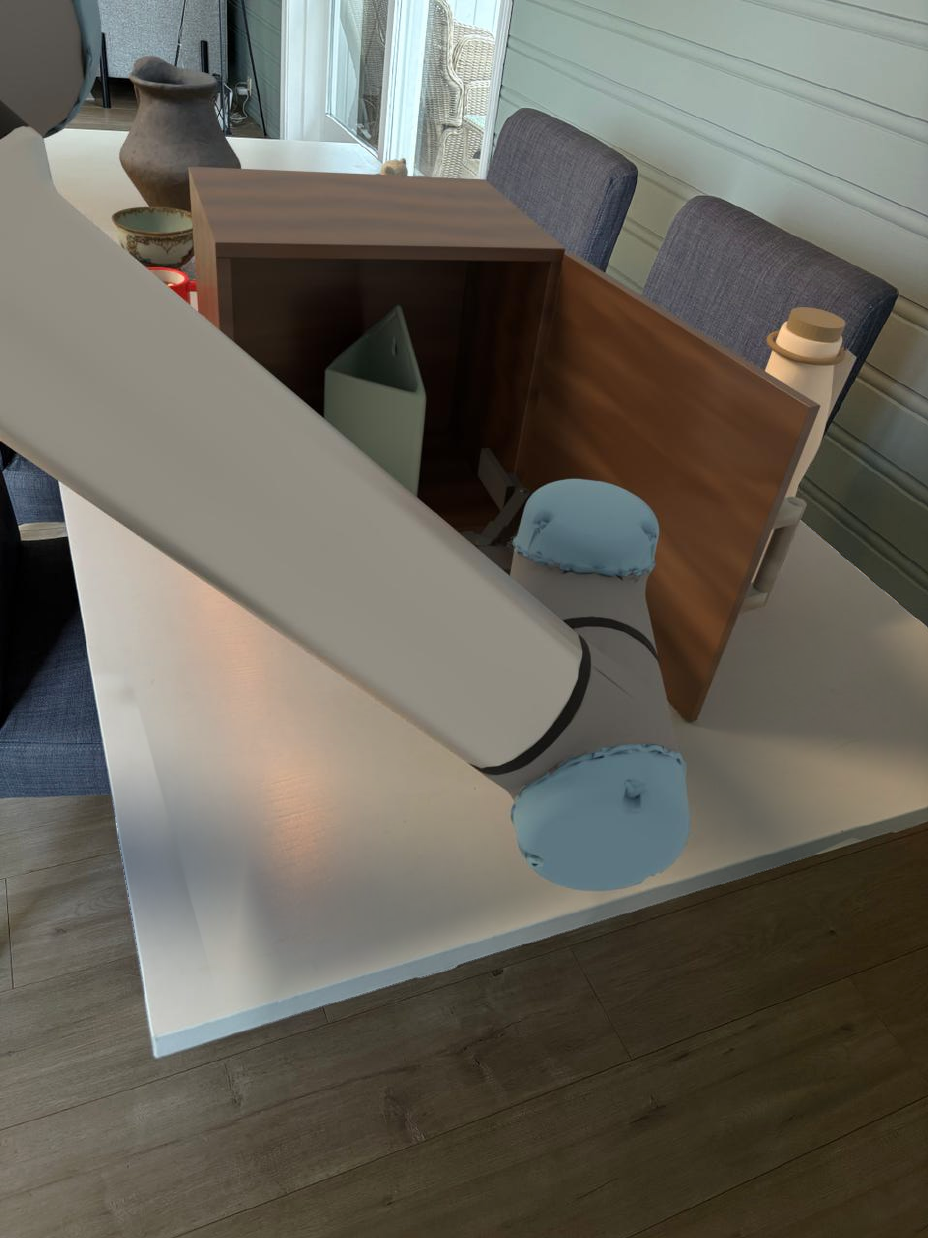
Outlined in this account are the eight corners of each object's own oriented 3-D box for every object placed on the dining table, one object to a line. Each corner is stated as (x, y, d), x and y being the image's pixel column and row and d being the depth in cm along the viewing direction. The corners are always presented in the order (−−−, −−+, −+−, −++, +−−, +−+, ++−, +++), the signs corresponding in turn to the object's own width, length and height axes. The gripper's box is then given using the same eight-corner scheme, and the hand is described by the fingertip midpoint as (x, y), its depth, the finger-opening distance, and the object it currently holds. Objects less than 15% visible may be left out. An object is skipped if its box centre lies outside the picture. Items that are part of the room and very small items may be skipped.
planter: (300, 448, 106) (300, 278, 94) (363, 440, 110) (372, 275, 97) (347, 523, 96) (355, 342, 83) (416, 513, 99) (434, 336, 86)
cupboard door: (564, 524, 102) (625, 250, 83) (746, 702, 83) (879, 395, 64) (512, 535, 99) (564, 253, 81) (688, 722, 80) (810, 407, 61)
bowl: (215, 281, 147) (213, 230, 142) (130, 287, 141) (124, 234, 136) (190, 253, 156) (187, 203, 151) (108, 257, 150) (102, 206, 145)
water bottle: (724, 532, 105) (810, 291, 88) (789, 572, 100) (894, 325, 83) (667, 558, 100) (747, 306, 82) (733, 602, 95) (833, 343, 77)
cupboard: (514, 532, 100) (565, 248, 81) (231, 556, 91) (214, 242, 72) (453, 435, 116) (485, 178, 97) (207, 447, 106) (188, 166, 87)
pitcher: (168, 245, 157) (154, 80, 142) (100, 209, 168) (80, 52, 152) (264, 229, 170) (261, 76, 154) (196, 197, 180) (187, 50, 165)
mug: (222, 345, 129) (220, 289, 124) (133, 342, 126) (126, 285, 121) (222, 323, 134) (219, 269, 130) (136, 320, 132) (130, 265, 127)
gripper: (318, 678, 63) (268, 512, 79) (634, 635, 71) (533, 492, 86) (320, 593, 59) (267, 434, 74) (658, 557, 67) (547, 420, 82)
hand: (410, 465), depth 80 cm, fingers open, 13 cm apart
